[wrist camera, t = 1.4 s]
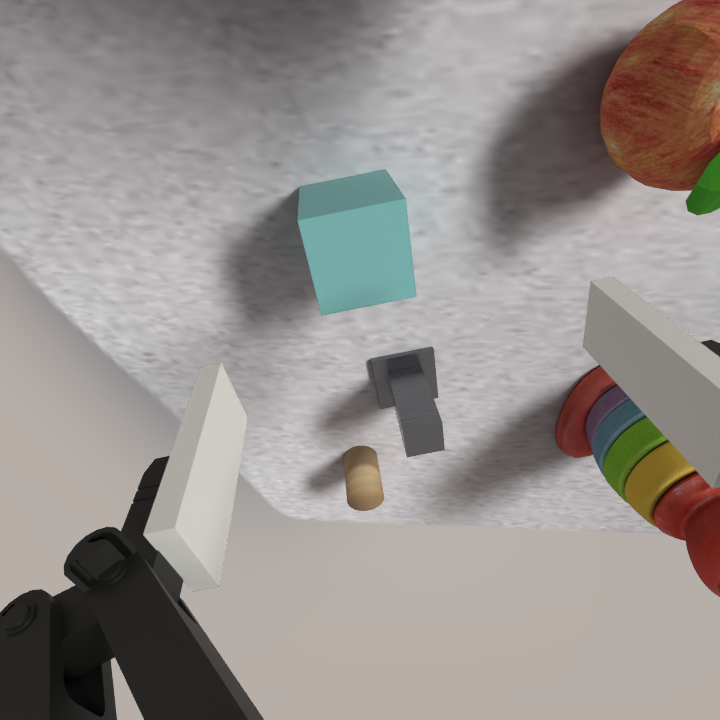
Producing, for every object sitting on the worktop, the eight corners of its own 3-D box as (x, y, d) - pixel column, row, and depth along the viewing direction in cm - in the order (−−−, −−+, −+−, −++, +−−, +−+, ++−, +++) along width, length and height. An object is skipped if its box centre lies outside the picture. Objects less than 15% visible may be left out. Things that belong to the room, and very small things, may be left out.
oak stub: (340, 449, 39) (344, 490, 35) (374, 443, 39) (381, 483, 35) (347, 472, 41) (350, 513, 37) (379, 465, 41) (386, 506, 37)
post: (370, 358, 34) (383, 420, 28) (432, 346, 34) (458, 406, 28) (379, 405, 36) (393, 471, 31) (436, 394, 36) (461, 457, 31)
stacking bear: (555, 453, 42) (687, 665, 27) (553, 372, 36) (719, 584, 22) (670, 424, 41) (869, 625, 27) (687, 335, 36) (952, 530, 21)
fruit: (538, 141, 26) (643, 179, 18) (654, -58, 22) (868, -130, 13) (642, 198, 29) (776, 254, 21) (767, 31, 24) (1004, 18, 16)
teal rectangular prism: (299, 187, 26) (297, 220, 21) (385, 169, 26) (405, 198, 21) (318, 267, 29) (321, 315, 24) (396, 252, 29) (416, 296, 24)
